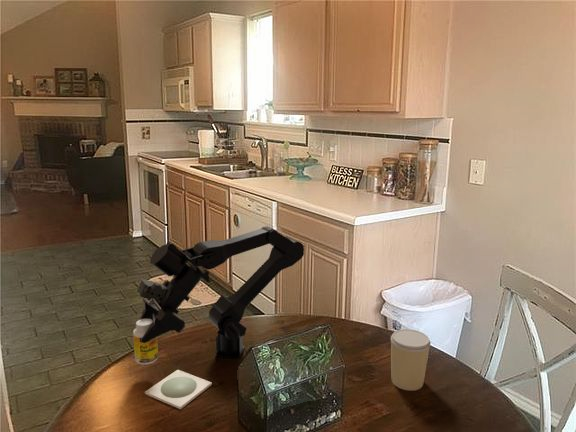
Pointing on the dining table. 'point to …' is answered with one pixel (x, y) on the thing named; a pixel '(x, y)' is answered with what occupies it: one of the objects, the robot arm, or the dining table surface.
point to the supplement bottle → (144, 344)
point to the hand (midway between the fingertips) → (139, 336)
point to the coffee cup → (409, 358)
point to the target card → (178, 389)
